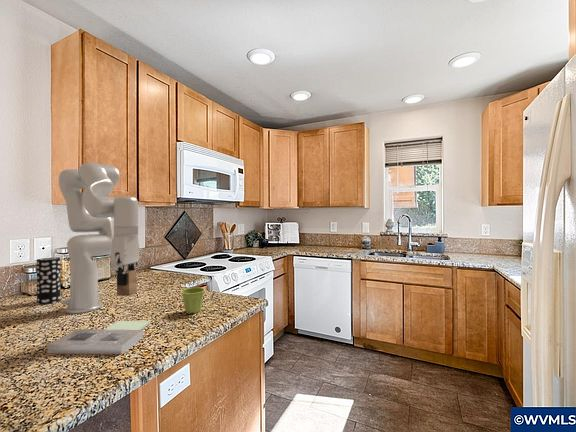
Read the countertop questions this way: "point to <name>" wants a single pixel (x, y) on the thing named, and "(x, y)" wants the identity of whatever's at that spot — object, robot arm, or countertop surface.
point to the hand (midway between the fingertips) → (126, 283)
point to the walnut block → (128, 284)
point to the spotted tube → (48, 280)
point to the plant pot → (193, 299)
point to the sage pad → (128, 325)
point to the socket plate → (96, 341)
